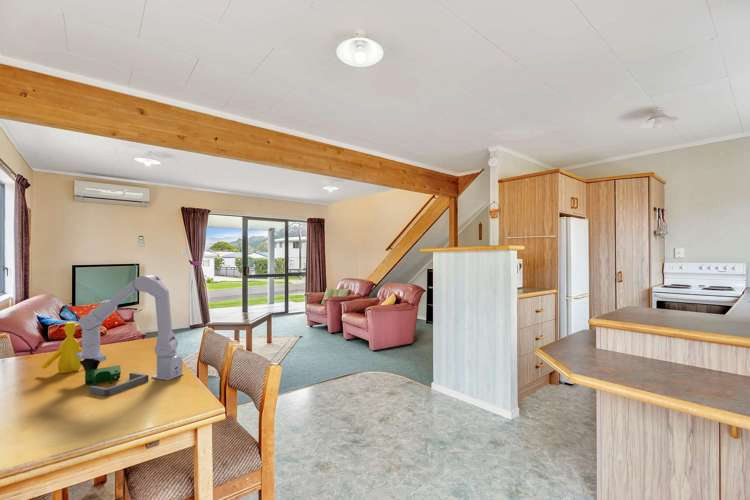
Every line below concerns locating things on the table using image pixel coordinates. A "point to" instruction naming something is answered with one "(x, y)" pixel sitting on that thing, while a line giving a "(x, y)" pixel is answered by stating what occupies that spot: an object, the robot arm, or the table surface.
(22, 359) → the table surface
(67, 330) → the figure statuette
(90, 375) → the clamp
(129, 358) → the table surface
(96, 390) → the tool bay
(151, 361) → the table surface
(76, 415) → the table surface
